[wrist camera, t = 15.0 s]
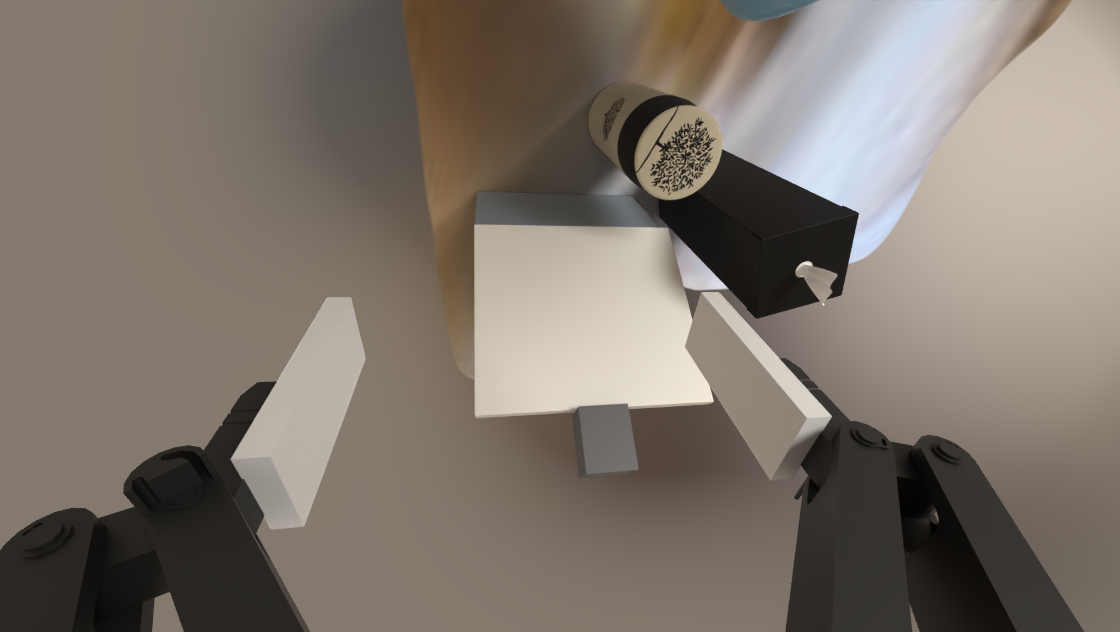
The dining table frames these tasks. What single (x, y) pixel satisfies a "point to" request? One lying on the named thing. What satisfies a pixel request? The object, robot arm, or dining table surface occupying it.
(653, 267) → the lid
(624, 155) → the travel mug
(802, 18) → the dining table surface
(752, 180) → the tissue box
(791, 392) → the robot arm
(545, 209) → the carton
